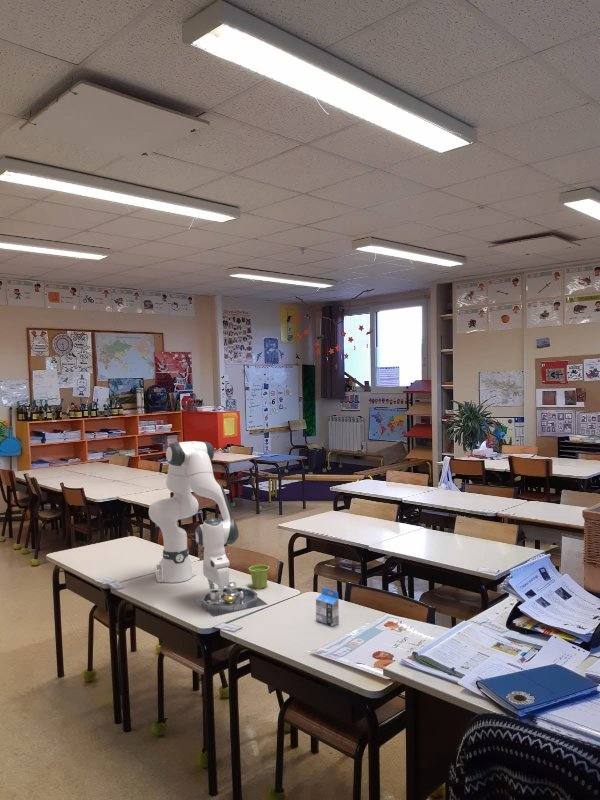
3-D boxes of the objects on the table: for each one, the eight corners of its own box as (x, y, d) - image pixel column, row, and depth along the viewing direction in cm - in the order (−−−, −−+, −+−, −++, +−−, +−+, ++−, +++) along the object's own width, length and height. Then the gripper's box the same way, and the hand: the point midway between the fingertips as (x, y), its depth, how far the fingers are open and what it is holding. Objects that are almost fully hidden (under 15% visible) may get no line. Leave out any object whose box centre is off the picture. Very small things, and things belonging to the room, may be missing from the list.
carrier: (192, 601, 255) (192, 586, 255) (244, 590, 267) (243, 575, 267) (213, 619, 234) (212, 602, 234) (268, 607, 246) (267, 590, 246)
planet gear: (204, 603, 249) (204, 590, 249) (220, 600, 252) (219, 587, 252) (210, 608, 243) (210, 595, 243) (226, 605, 246) (226, 592, 246)
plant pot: (248, 590, 267) (247, 571, 267) (250, 583, 276) (249, 565, 276) (269, 589, 267) (268, 570, 267) (270, 583, 276) (269, 564, 276)
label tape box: (315, 621, 230) (314, 589, 230) (322, 617, 233) (321, 586, 233) (332, 627, 224) (331, 594, 223) (339, 623, 227) (338, 591, 226)
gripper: (198, 554, 255) (200, 586, 255) (216, 565, 237) (218, 600, 237) (212, 551, 258) (214, 583, 258) (231, 562, 240) (232, 596, 240)
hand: (216, 591), depth 247 cm, fingers open, 8 cm apart
